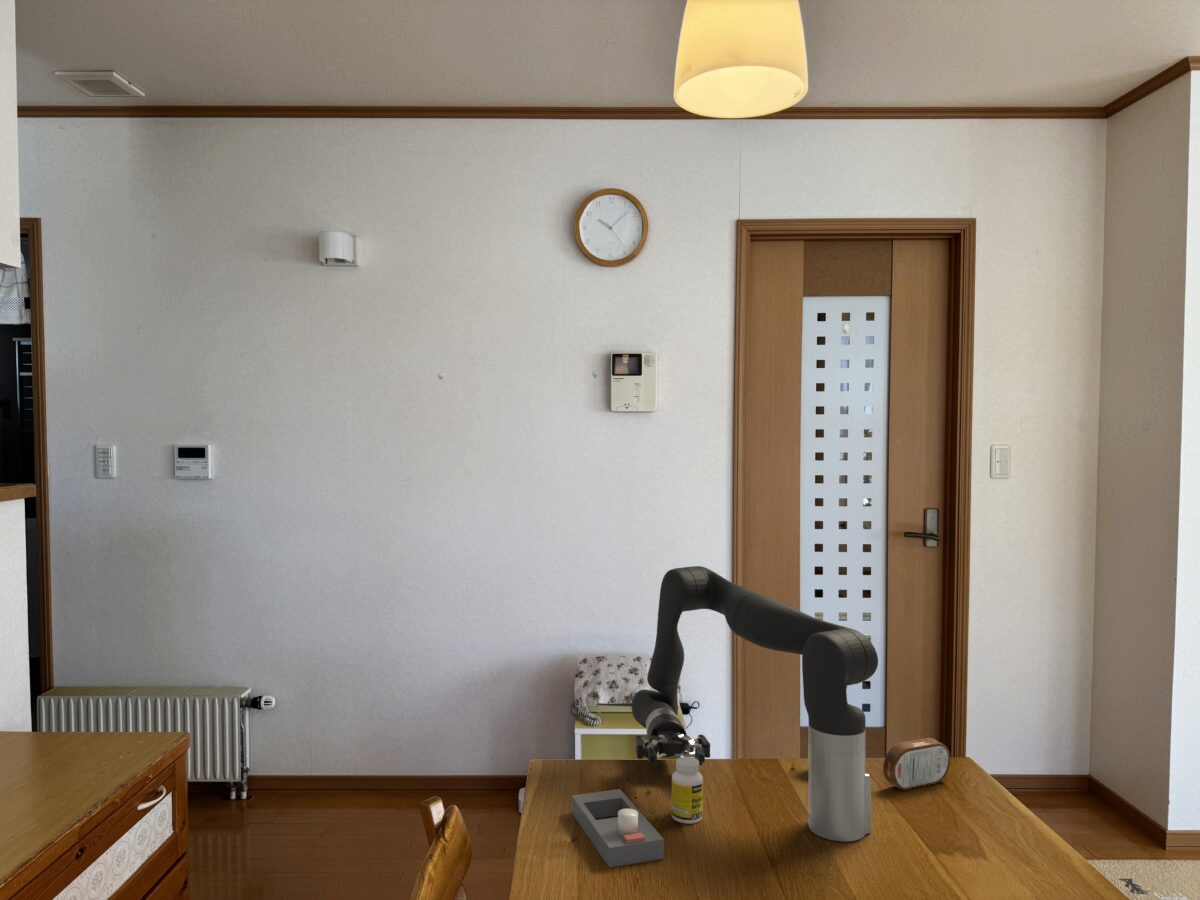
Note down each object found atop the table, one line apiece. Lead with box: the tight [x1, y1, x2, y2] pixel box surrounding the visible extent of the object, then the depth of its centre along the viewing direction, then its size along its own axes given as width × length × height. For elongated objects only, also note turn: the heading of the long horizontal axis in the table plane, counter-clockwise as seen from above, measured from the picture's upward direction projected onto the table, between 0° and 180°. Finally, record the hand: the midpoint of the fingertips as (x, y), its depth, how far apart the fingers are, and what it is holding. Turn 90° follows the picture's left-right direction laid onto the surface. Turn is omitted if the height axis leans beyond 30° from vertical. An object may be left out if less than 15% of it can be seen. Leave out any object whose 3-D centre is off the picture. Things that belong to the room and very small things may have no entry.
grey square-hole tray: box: [571, 788, 665, 869], centre depth 132 cm, size 9×20×6 cm, turn 19°
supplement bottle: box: [670, 756, 704, 825], centre depth 138 cm, size 5×5×10 cm
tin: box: [882, 737, 951, 791], centre depth 152 cm, size 15×3×8 cm, turn 114°
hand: (677, 760), depth 148 cm, fingers open, 8 cm apart
